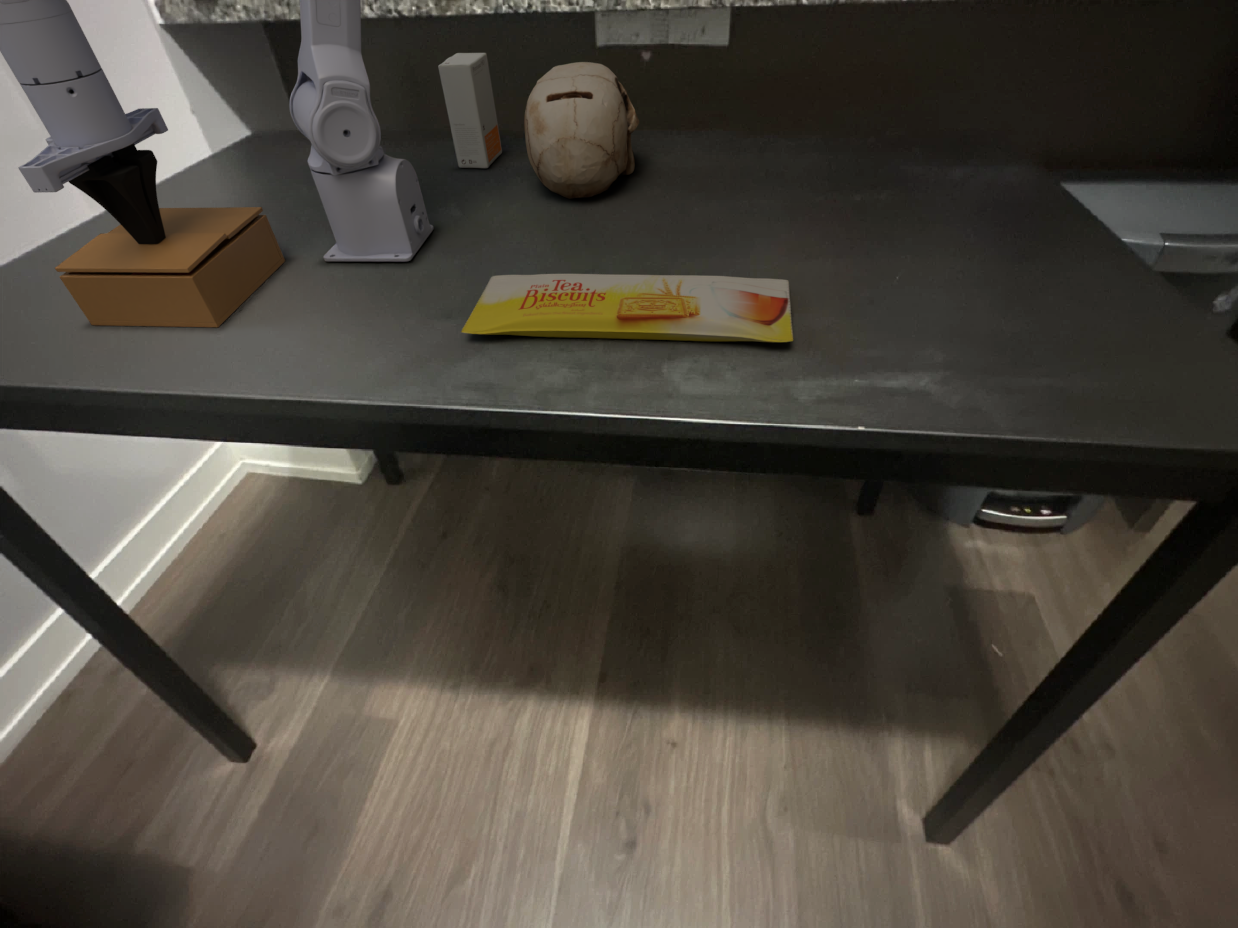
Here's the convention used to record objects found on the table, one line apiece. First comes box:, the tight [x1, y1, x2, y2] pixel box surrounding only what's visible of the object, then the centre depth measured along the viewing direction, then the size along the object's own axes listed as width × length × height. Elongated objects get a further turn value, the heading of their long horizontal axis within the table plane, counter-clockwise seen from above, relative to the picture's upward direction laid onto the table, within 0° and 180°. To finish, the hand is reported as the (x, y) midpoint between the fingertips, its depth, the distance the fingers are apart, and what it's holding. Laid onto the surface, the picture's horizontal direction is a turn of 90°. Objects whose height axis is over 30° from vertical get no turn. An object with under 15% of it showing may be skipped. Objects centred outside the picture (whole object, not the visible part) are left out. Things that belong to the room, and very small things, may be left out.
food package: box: [460, 273, 794, 343], centre depth 59 cm, size 27×2×10 cm
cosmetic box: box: [437, 52, 503, 169], centre depth 86 cm, size 6×4×12 cm
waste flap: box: [54, 232, 227, 273], centre depth 62 cm, size 13×6×1 cm, turn 83°
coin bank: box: [523, 61, 640, 200], centre depth 80 cm, size 16×17×13 cm
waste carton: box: [59, 206, 286, 328], centre depth 66 cm, size 13×13×6 cm
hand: (152, 240), depth 63 cm, fingers closed, pressing on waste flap
